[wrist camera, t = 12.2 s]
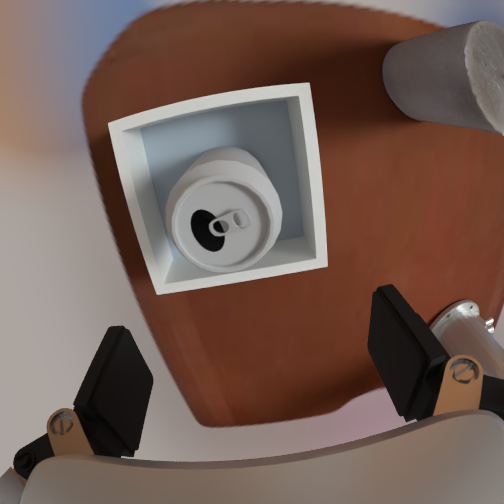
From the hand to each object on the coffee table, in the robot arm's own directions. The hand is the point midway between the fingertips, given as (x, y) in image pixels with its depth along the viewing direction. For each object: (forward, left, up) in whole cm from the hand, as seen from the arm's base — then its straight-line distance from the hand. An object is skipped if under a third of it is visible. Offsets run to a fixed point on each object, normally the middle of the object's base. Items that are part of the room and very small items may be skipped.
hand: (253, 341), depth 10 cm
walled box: (+1, -2, -21) cm, 21 cm away
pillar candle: (-21, -11, -21) cm, 32 cm away
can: (+1, -2, -20) cm, 20 cm away
